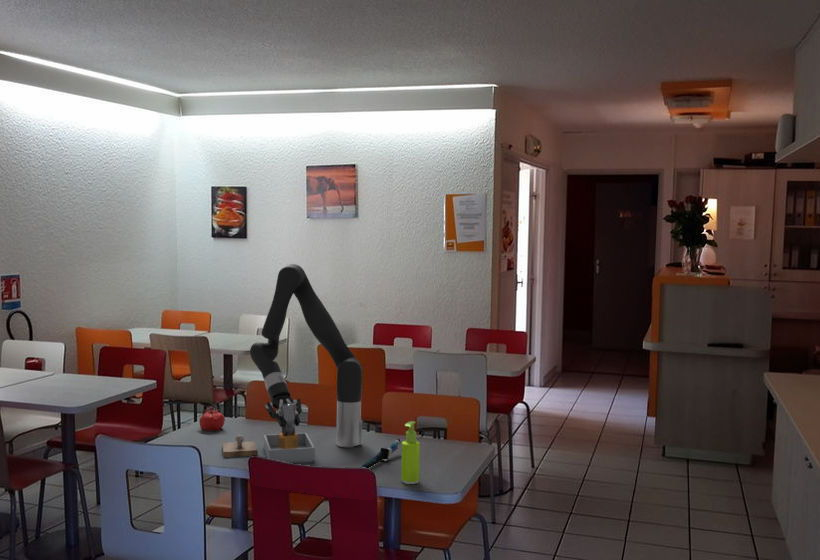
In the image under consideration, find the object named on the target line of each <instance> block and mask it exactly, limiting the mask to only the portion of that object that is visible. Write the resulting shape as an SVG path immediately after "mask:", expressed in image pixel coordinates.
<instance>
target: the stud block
mask: <svg viewBox="0 0 820 560" xmlns="http://www.w3.org/2000/svg"><path fill="white" fill-rule="evenodd" d="M244 440H245V437H244V436H243V435H241V434H238V435H236V436H235V441H234V442H222V444H221V448H222V456H223V458H229V457H228V456H241V457H253V456H252V455H258V447H257V444H256V441H255V440H254V441H244ZM258 456H259V455H258Z"/></svg>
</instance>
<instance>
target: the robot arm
mask: <svg viewBox="0 0 820 560" xmlns="http://www.w3.org/2000/svg"><path fill="white" fill-rule="evenodd" d="M292 296H295V297H296V300H297V301H298V303H299V306H300V308H301V312H302V314H303V318H304V320H305V323H306V325H307V326H308V328H309V330H310V331H311V333H312V335H313V336H314V337H315V338H316V340H317V341H318V343H320V344H321V345H322V347H323V348H324V349H325V350H326V351H327V352H328V353H329V355H330V357H331V359H332V360H333V362H334V364H335V366H336V368H337V370H336V371H337V372H336V433H335V434H336V439H335V440H336V446H338V447H341V448H355V447H354V446H357V445H361V444H362V445H363V443H362V441H363V439H362V438H363V422H362V377H363V376H362V374H363V373H362V371H363V369H362V364H361V363H360V361H359V360H358V359H357V357H356V356H355V355H354V353H353V352H352V351H351V350H350V348H349V347H348V345H347V343H346V341H344V338H343V336H342V334H341V332H340V330H339V328H338V326H337V324H336V322H335V321H334V320H333V318H332V316H331V314H330V312H329V311H328V310H327V308H326V307H325V306H324V303H323V302H322V301H321V299H320V298H319V297H318V295H317V294H316V292H315V290H314V288H313V286H312V284H311V282H310V280H309V278H308V275H307V274H306V272H305V270H304V269H303V268H302V266H300V265H298V264H297V263H290V264H288V265H285V266H283V267H282V268H281V269H280V270H279V271H278V273H277V279H276V285H275V289H274V294H273V299H272V302H271V305H270V308H269V311H268V312H267V316H266V318H265V321H264V324H263V326H262V327H263V328H262V329H261V336H262V337H264V339H267V342H259V341H258V342H257V341H256V342H255V343H253V344H252V345H251V347H250V349H249V354H250V358H251V360H252V362H253V363H254V365H255V366H256V367H257V369H258V370H259V371H260V373H261V375H262V378H263V382H264V385H265V388H266V391H267V394H268V396H269V399H270V402H269V401H267V402H266V404H265V405H264V409H265V410H266V411H267V413H268V415H269V416H270V418H271V420H275V419H276V420H277V423H278V425H279V427H281V429H282V428H284V427H285V422H284V419H283V416H282V404H283V403H295V427H299V426H300V423H301V419H300V415H301V414H302V412H303V409H302V408H303V407H302V401H301V399H300V398H297V399H294V398H293V397H292V396H291V392H290V390H289V387H288V383H287V382H286V379H285V377H284V375H283V373H282V371H281V368H280V365H279V363H278V362H276V361H275V359H277V357H278V354H279V343H280V336H281V332H282V330H283V328H284V325H285V321H286V318H287V311H288V307H289V305H290V301H291V299H292ZM275 409H276V411H275ZM357 447H358V446H357Z"/></svg>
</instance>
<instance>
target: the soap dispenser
mask: <svg viewBox="0 0 820 560" xmlns="http://www.w3.org/2000/svg"><path fill="white" fill-rule="evenodd" d="M415 424H416V421H412V420H411V421H407V422H406V423H404V427H406V428H408V430H407V431H405V440H403V441H402V442H401V468H400V469H401V472H400V473H401V475H400V476H401V477H400V480H401V479H402V480H403V481H407V482H416V481H418V480H419V481H420V460H421V459H420V456H421V455H420V453H421V452H420V451H421V449H420V448H421V443H420V441H418V440H417V431H415V428H414V427H415Z"/></svg>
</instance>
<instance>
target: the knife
mask: <svg viewBox="0 0 820 560" xmlns="http://www.w3.org/2000/svg"><path fill="white" fill-rule="evenodd" d="M401 444H402V442H401V439H400V438H397V439H395V441H394V442H393V443H392V444H391V445H389V447H387V448H386V447H380V450H379V452H378V453H377V455H375V456H374V457H373V458H371V459H369V460H368V461H366V462H365V463H364V464H362V466H361V467H366V468H369V467H371V466H373V465H374V464H376V463H377V464H379V463H380V462H382V461H381V460H382V459H388V460H389V456H390V455H392V454H393V453H394V452H396V451H397V450H398V449H399V448H401V447H400V446H401ZM378 462H379V463H378ZM377 464H376V465H377ZM373 467H374V466H373Z"/></svg>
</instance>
